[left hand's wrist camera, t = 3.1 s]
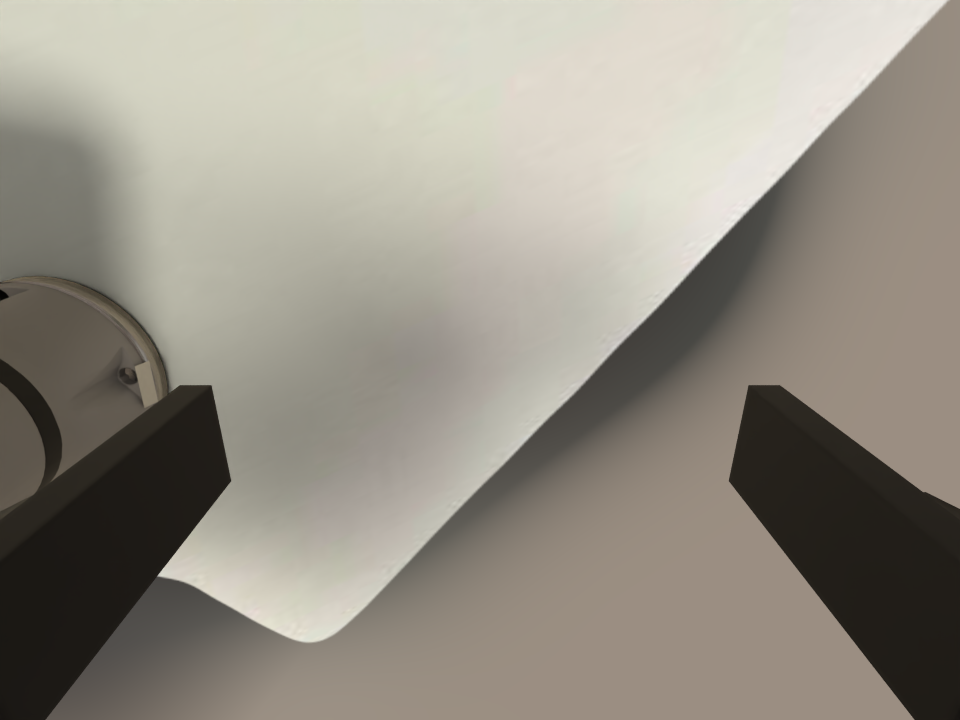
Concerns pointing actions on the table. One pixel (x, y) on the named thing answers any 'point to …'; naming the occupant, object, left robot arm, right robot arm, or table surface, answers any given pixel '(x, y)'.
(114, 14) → the table surface
